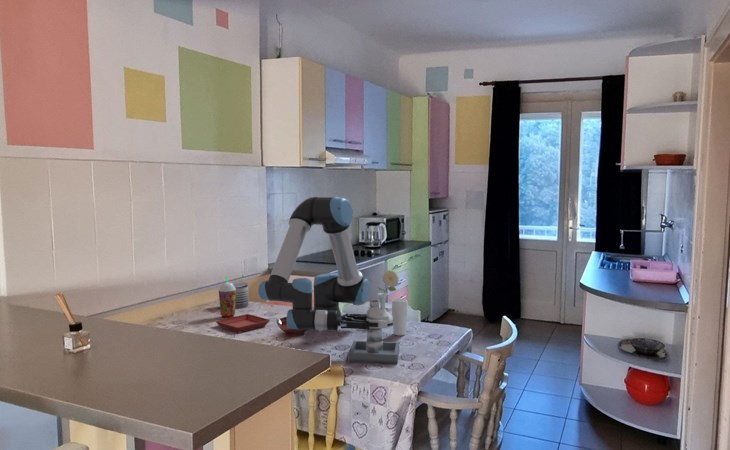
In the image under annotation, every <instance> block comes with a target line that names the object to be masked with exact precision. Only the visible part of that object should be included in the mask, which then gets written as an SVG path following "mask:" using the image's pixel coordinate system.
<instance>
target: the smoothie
mask: <svg viewBox="0 0 730 450" xmlns="http://www.w3.org/2000/svg"><path fill="white" fill-rule="evenodd" d="M228 277H229V276H226V282H223V283H221V285H220V286H219V289H218V298H219V299H218V300H219V313H220V316H221V318H222V319H226V318H231V317H235V315H236V309H235V300H236V288H235V286H234V285H233V283H232V282H230V281H229V278H228Z"/></svg>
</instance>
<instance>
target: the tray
mask: <svg viewBox="0 0 730 450" xmlns="http://www.w3.org/2000/svg"><path fill="white" fill-rule="evenodd" d="M352 341H353V342H352V344H351V346H350V347H349V350H348V352H347V363H352V364H377V365H378V364H380V365H398V363H399V362H398V360H399V354H400V342H399V341H395V342H394V341H383V350H382V352H381V353H368V352H367V351H366V341H367V340H352Z"/></svg>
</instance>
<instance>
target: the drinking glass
mask: <svg viewBox="0 0 730 450" xmlns="http://www.w3.org/2000/svg"><path fill="white" fill-rule="evenodd" d="M408 308H409V307H408V300H407V299H405V298H393V299H392V300H391V315H392V318H393V323H392V327H393V328H392V330H393V331H392V333H393V335H395V336H399V337H401V336H404V335H406V333H407V332H406V330H407V329H406V328H407V321H408V320H407V317H408Z"/></svg>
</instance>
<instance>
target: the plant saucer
mask: <svg viewBox="0 0 730 450" xmlns="http://www.w3.org/2000/svg"><path fill="white" fill-rule="evenodd" d="M270 321H271V320H270V319H269V318H264V317H261V316H257V315H253V314H249V313H246V314H242V315H237V316H234V317H231V318H222V319H218V320H215V323H216V324H217V325H218V326H219V327H221V328H224V329H225V330H226V329H227V330H230V331H233V332H236V333H243V332H245V331H251V330H253V329H254V330H255V329H260V328H264V327H266V325H267V324H268V323H270Z"/></svg>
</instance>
